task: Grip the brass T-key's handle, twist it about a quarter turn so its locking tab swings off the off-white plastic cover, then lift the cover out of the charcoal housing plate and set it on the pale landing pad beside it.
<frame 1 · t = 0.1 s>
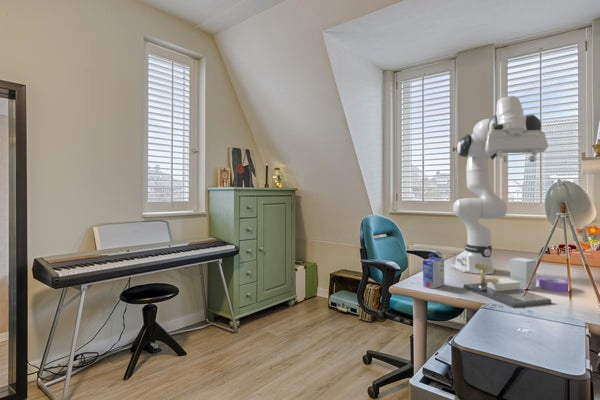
hand: (518, 161, 127), 54 cm above the table, tool tilted 30°, fingers open, 8 cm apart
supplement box: (522, 288, 153), on the table
t key: (488, 275, 145), point 8 cm above the table, hinge at 0.0°
cover lid: (503, 288, 147), point 2 cm above the table, touching housing plate
masking tape: (554, 289, 153), on the table
housing plate: (504, 295, 143), on the table
ink cartridge box: (433, 286, 156), on the table
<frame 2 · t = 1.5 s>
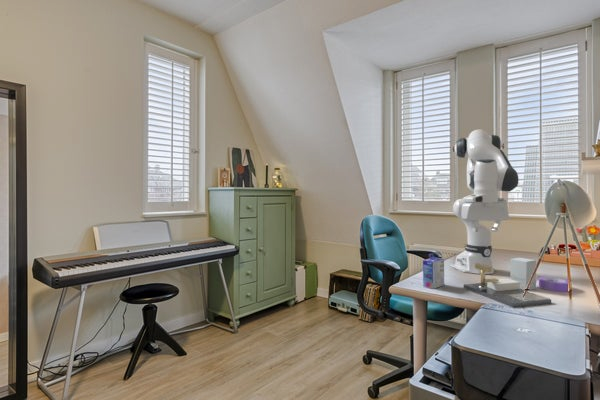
hand: (485, 231, 143), 26 cm above the table, tool pointing down, fingers open, 8 cm apart
nothing on the table moved.
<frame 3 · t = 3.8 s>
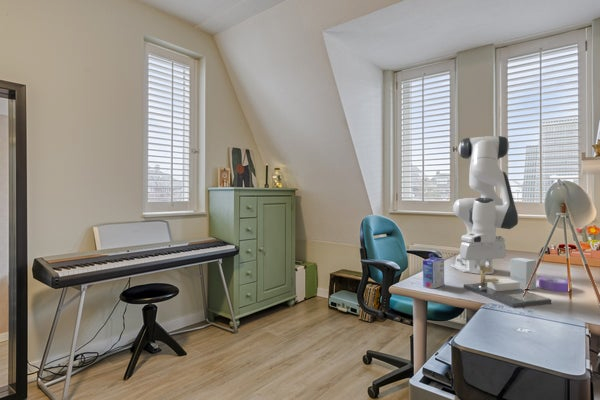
hand: (483, 269, 144), 10 cm above the table, tool pointing down, fingers closed on t key, 2 cm apart
t key: (488, 275, 145), point 8 cm above the table, hinge at 0.0°, touching gripper
everything else where it was.
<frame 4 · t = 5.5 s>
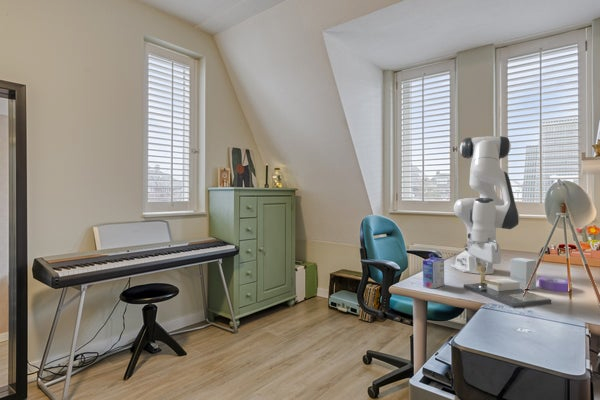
hand: (483, 269, 144), 10 cm above the table, tool pointing down, fingers open, 6 cm apart
t key: (490, 276, 142), point 8 cm above the table, hinge at -69.2°
everything else where it was.
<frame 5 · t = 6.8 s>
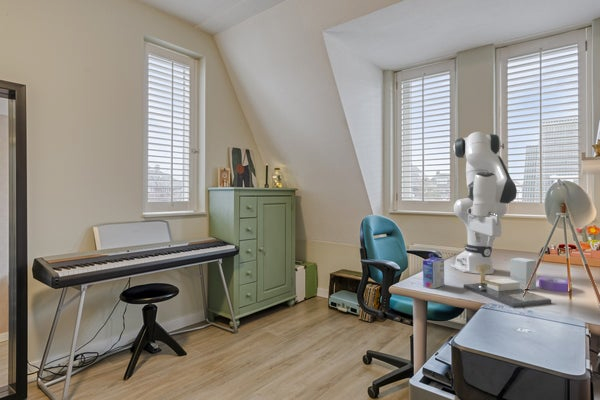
hand: (483, 244, 144), 21 cm above the table, tool pointing down, fingers open, 8 cm apart
t key: (489, 277, 142), point 8 cm above the table, hinge at -74.3°
everything else where it was.
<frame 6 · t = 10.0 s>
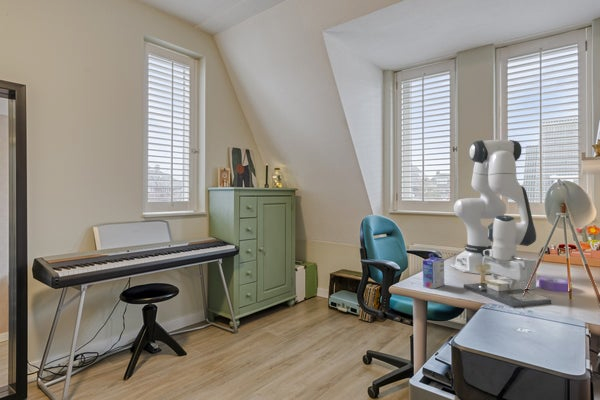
hand: (503, 286, 147), 2 cm above the table, tool pointing down, fingers closed on cover lid, 6 cm apart
t key: (489, 277, 142), point 8 cm above the table, hinge at -75.1°
cover lid: (503, 288, 147), point 2 cm above the table, touching gripper, housing plate
everything else where it was.
when the fingers open (4 cm above the table, at t = 16.1 s): cover lid drops 2 cm, resting on housing plate.
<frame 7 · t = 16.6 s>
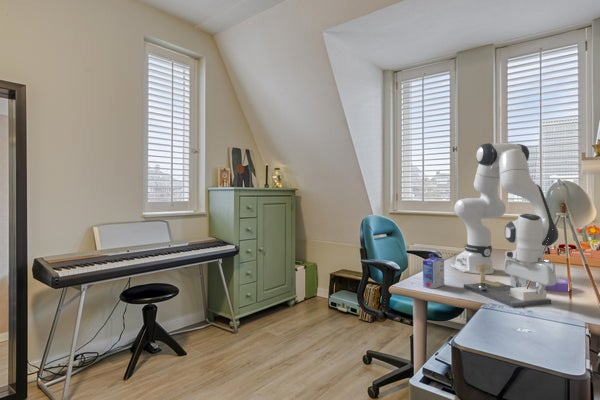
hand: (528, 290, 136), 4 cm above the table, tool pointing down, fingers open, 8 cm apart
cover lid: (528, 296, 136), point 2 cm above the table, touching housing plate
everything else where it was.
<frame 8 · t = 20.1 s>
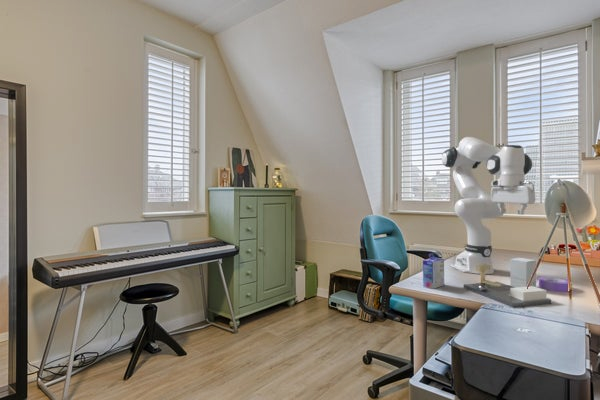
hand: (511, 213, 151), 33 cm above the table, tool pointing down, fingers open, 8 cm apart
nothing on the table moved.
at the end: t key at -75° (first picture: +0°); cover lid 0.0 cm from the target spot, point 1.5 cm above the table; cover lid tilted 0° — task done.
